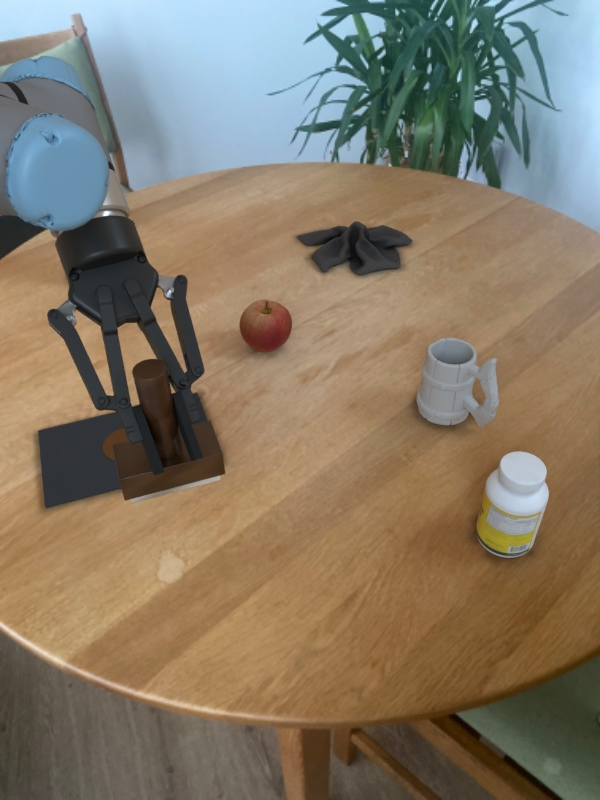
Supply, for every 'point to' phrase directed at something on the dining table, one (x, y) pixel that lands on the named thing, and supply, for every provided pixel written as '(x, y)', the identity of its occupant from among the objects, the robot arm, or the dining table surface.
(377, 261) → the cloth
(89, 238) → the robot arm
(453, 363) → the mug
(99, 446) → the stain mat
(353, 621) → the dining table surface
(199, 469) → the scrub brush
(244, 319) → the apple
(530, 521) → the pill bottle
